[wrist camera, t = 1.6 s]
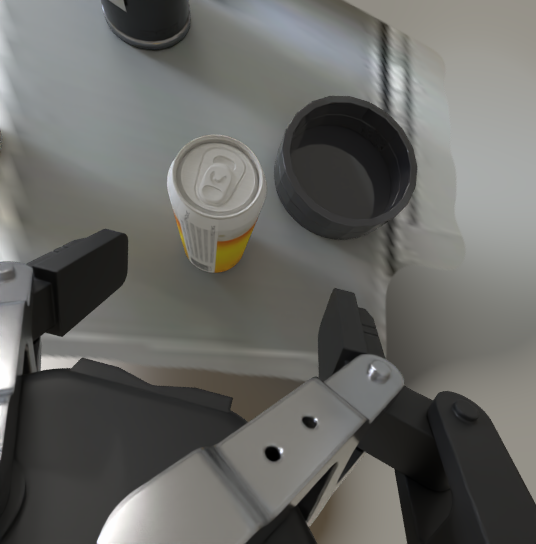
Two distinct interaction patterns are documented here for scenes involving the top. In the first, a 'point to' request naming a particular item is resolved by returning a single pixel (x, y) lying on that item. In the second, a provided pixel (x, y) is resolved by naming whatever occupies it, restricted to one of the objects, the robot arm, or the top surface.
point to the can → (0, 140)
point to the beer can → (216, 199)
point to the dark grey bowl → (344, 167)
